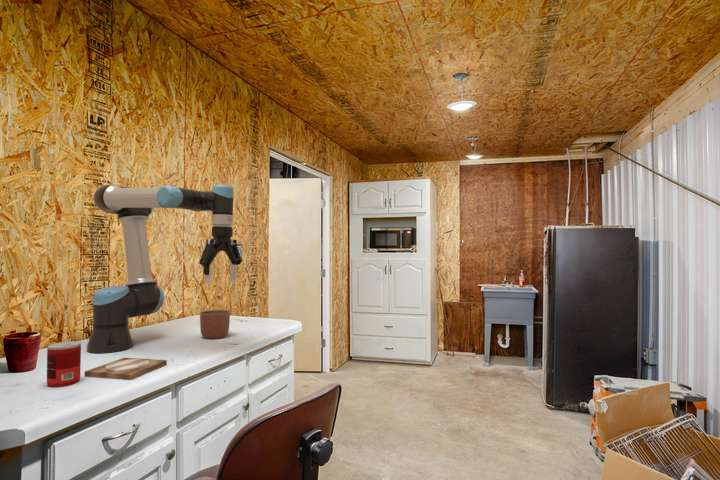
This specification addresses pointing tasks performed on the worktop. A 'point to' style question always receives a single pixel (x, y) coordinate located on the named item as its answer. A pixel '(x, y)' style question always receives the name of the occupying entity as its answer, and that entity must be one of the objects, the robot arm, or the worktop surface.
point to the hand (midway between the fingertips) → (221, 282)
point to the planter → (214, 323)
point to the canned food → (63, 363)
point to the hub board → (126, 368)
